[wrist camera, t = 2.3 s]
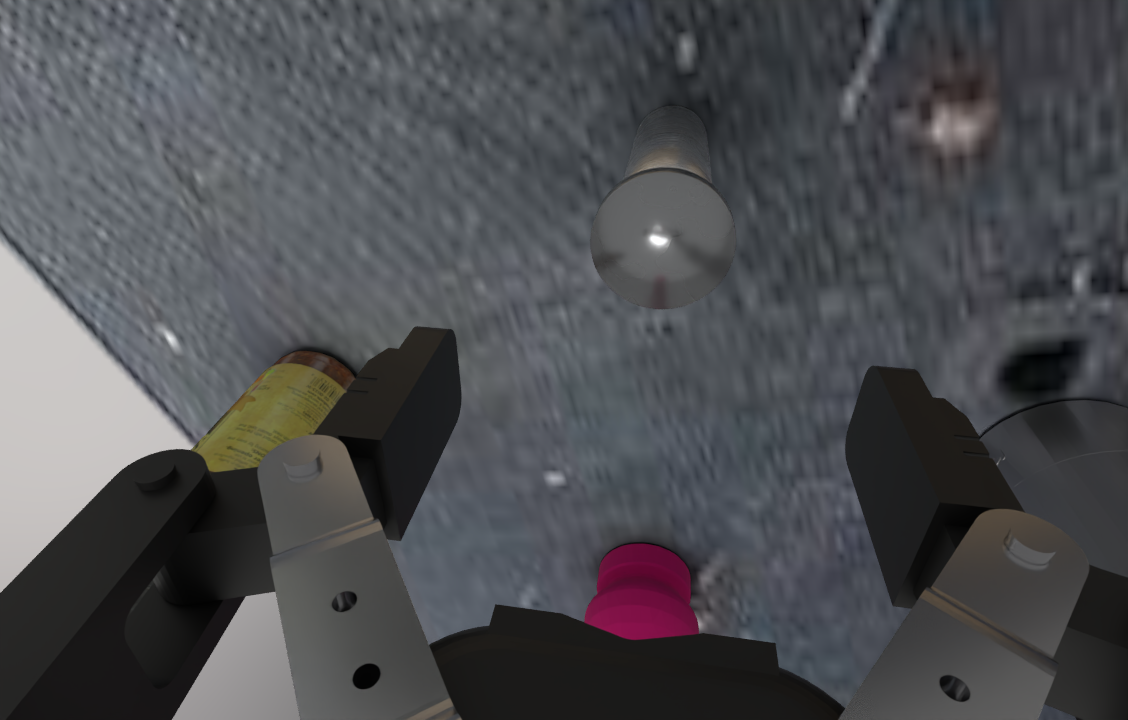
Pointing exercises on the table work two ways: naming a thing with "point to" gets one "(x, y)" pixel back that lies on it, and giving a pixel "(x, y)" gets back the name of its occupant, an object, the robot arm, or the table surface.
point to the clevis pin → (665, 217)
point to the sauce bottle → (274, 412)
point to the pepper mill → (643, 594)
